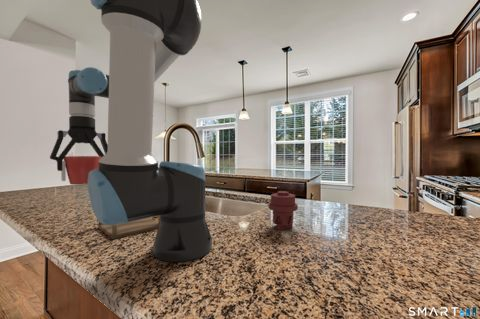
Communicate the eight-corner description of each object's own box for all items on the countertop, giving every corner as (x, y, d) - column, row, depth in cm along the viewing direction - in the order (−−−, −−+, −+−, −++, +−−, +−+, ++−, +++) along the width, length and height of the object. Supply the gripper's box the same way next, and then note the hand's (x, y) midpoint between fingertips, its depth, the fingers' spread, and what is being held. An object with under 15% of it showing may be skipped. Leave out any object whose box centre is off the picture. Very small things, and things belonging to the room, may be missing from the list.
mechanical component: (268, 222, 83) (295, 223, 82) (268, 231, 73) (299, 232, 72) (268, 189, 83) (295, 189, 82) (268, 194, 73) (300, 194, 72)
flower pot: (88, 185, 74) (87, 155, 74) (55, 185, 74) (55, 156, 74) (107, 181, 84) (107, 155, 84) (79, 181, 85) (79, 156, 84)
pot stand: (163, 227, 78) (163, 209, 78) (112, 239, 66) (112, 218, 66) (144, 218, 89) (144, 202, 89) (98, 227, 78) (98, 209, 77)
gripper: (114, 121, 90) (115, 176, 90) (37, 114, 73) (38, 181, 73) (121, 119, 84) (121, 177, 85) (39, 110, 68) (41, 183, 68)
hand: (83, 179), depth 79 cm, fingers closed on flower pot, 10 cm apart
